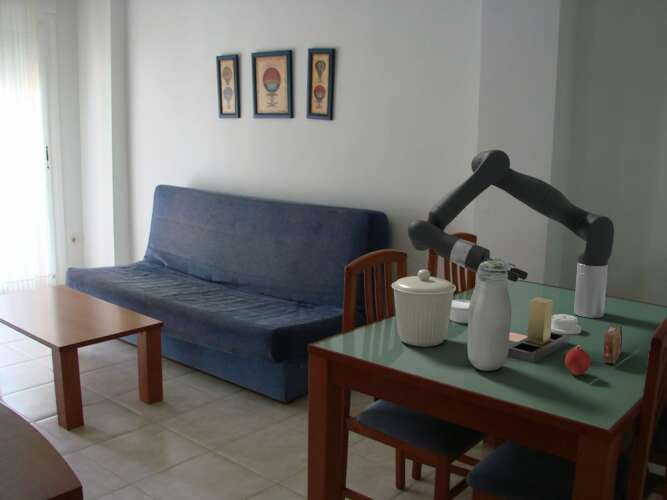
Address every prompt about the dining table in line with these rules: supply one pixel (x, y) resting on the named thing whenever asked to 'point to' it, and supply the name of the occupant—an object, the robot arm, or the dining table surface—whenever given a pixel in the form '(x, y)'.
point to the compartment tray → (537, 348)
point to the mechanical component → (565, 324)
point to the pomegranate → (577, 361)
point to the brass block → (540, 321)
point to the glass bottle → (489, 317)
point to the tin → (612, 344)
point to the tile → (516, 337)
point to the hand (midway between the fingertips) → (522, 277)
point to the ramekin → (459, 311)
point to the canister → (423, 308)
